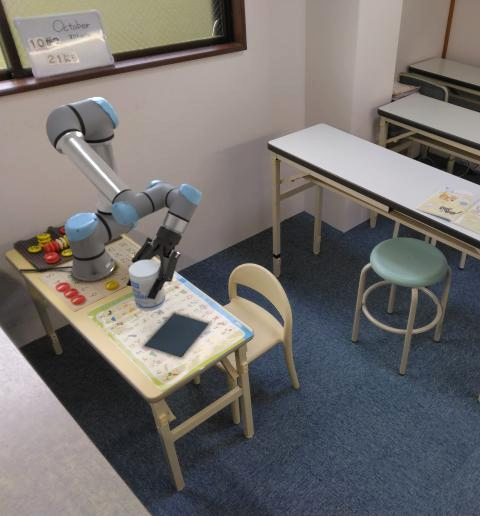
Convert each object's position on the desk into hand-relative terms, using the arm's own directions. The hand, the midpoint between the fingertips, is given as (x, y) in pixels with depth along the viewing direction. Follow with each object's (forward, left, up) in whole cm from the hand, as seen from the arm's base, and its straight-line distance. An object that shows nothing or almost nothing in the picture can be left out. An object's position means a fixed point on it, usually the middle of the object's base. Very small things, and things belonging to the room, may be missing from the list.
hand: (140, 292), depth 165 cm
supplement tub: (+1, +3, -7) cm, 8 cm away
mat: (+9, +4, -19) cm, 21 cm away
